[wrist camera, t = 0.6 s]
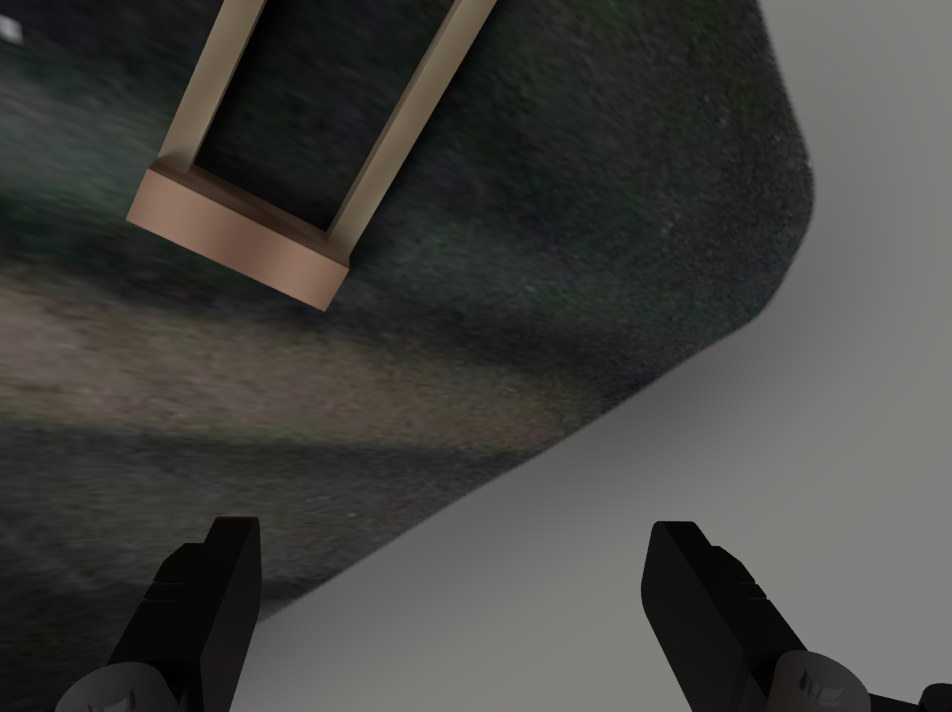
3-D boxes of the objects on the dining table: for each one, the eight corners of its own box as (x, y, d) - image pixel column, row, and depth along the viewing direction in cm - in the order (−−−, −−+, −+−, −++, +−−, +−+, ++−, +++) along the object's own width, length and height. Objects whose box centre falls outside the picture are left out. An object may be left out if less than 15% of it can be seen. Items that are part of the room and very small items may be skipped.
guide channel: (145, 196, 36) (125, 219, 32) (371, -331, 27) (377, -373, 24) (325, 283, 40) (324, 311, 37) (569, -143, 32) (598, -156, 28)
